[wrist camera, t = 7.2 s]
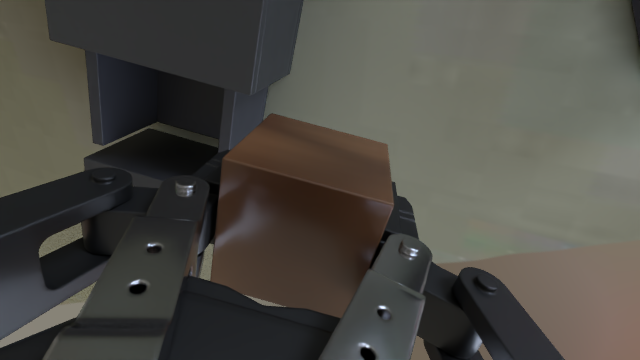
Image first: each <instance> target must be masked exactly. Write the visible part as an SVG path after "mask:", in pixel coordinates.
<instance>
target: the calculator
mask: <svg viewBox="0 0 640 360" xmlns="http://www.w3.org/2000/svg"><path fill="white" fill-rule="evenodd" d="M632 5H633V11H634V16H635V22H636V27H637V33H638V38H639V44H640V0H632Z"/></svg>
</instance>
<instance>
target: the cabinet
mask: <svg viewBox="0 0 640 360" xmlns="http://www.w3.org/2000/svg"><path fill="white" fill-rule="evenodd" d="M45 6H46V14H47V21H48V29H49V37H50V40H52V41H55V42H59V43H63V44H66V45H70V46H73V47H77V48H81V49H84V50H88V51H91V52H95V53H99V54H102V55H106V56H109V57H113V58H117V59H120V60H124V61H127V62H131V63H135V64H138V65H142V66H145V67H149V68H152V69H156V70H160V71H163V72H167V73H170V74H174V75H178V76H181V77H185V78H188V79H192V80H196V81H199V82H203V83H206V84H210V85H214V86H217V87H221V88H224V89H228V90H232V91H235V92H239V93H242V94H246V95H253V94H254V93H256V92H258V91H260V90H262V89H263V88H265V87H267V86H269V85H271V84H272V83H274V82H276V81H278V80H279V79H281V78H283V77H285V76H287V75H288V74H290V70H291V64H292V59H293V54H294V48H295V43H296V38H297V32H298V27H299V22H300V16H301V11H302V6H303V0H45Z"/></svg>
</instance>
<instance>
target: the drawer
mask: <svg viewBox="0 0 640 360" xmlns="http://www.w3.org/2000/svg"><path fill="white" fill-rule="evenodd" d="M85 55H86V67H87V78H88V90H89V101H90V113H91V125H92V136H93V143H95V144H99V145H102V146H104V145H106V144H108V143H110V142H113V141H115V140H117V139H119V138H122V137H124V136H126V135H129V134H131V133H133V132H135V131H138V130H140V129H142V128H144V127H147V126H149V125H151V124H153V123H156V122H160V123H164V124H167V125H171V126H174V127H178V128H181V129H185V130H188V131H192V132H195V133H199V134H202V135H206V136H209V137H213V138H216V139H219V147H218V148H217V147H214V146H210V145H207V144H203V143H200V142H196V141H193V140H189V139H186V138H182V137H179V136H175V135H171V134H168V133H164V132H161V131H157V130H154V129H150V128H149V129H146V130H144V131H142V132H140V133H138V134H135V135H133V136H131V137H129V138H127V139H124V140H122V141H120V142H118V143H116V144H113V145H111V146H109V147H107V148H105V149H102V150H100V151H98V152H96V153H94V154H91V155H89V156H87V157H85V158H84V166H85V171H87V170H90V169H95V168H105V167H107V168H118V169H122V170H125V171H127V172H128V173H130V174H131V176H132V181H133V186H136V187H147V188H159V187H160V185H161V183H162V182H163V181H164V180H166V179H168V178H170V177H174V176H181V175H187V176H191V175H193V174H194V173H195V172H196V171H197V170H198V169H200V168H201V167H202V166H203V165H204V164H206V163H207V162H208V161H209V160H211V158H212V157H214V156H215V155H216V154H217V153H219V152H222V151H226V150H232V149H233V148H234V147H235V146H236V145H237V144H238V143H239V142H240V141H241V140H243V139H244V138H245V137H246V136H247V135H248V134H249V133H250V132H251V131H252V130H254V129H255V128H256V127H257V126H258V125H259V124H260V123H261V122H262V121H263V117H264V111H265V104H266V98H267V92H268V86H267V87H265V88H263V89H262V90H260V91H258V92H256V93H254V94H253V95H246V94H242V93H239V92H235V91H232V90H228V89H224V88H221V87H217V86H214V85H210V84H206V83H203V82H199V81H196V80H192V79H188V78H185V77H181V76H178V75H174V74H170V73H167V72H163V71H160V70H156V69H152V68H149V67H145V66H142V65H138V64H135V63H131V62H127V61H124V60H120V59H117V58H113V57H109V56H106V55H102V54H99V53H95V52H91V51H88V50H85Z"/></svg>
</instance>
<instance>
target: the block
mask: <svg viewBox="0 0 640 360" xmlns="http://www.w3.org/2000/svg"><path fill="white" fill-rule="evenodd" d="M393 207H394V199H393V190H392V181H391V172H390V163H389V154H388V145H387V144H384V143H381V142H377V141H373V140H369V139H366V138H362V137H358V136H354V135H351V134H347V133H343V132H339V131H336V130H332V129H328V128H325V127H321V126H317V125H313V124H310V123H306V122H302V121H298V120H295V119H291V118H287V117H283V116H280V115H276V114H270V115H269V116H268V117H267V118H266V119H265V120H263V121H262V122H261V123H260V124H259V125H258V126H257V127H256V128H255V129H254V130H252V131H251V132H250V133H249V134H248V135H247V136H246V137H245V138H244V139H243V140H241V141H240V142H239V143H238V144H237V145H236V146H235V147H234V148H233V149H232V150H230V151H229V152H228V153H227V154H226V155H225V156H224V157H223V158H222V166H221V176H220V187H219V197H218V207H217V218H216V228H215V238H214V249H213V259H212V269H211V280H210V281H211V282H215V283H218V284H222V285H225V286H228V287H230V288H232V289H234V290H235V291H237V292H239V293H241V294H244V295H247V296H251V297H254V298H258V299H261V300H265V301H268V302H272V303H275V304H279V305H282V306H286V307H291V308H306V309H310V310H313V311H317V312H320V313H324V314H327V315H331V316H334V317H338V318H341V317H342V316H343V314H344V312H345V310H346V308H347V306H348V305H349V303H350V301H351V299H352V297H353V296H354V294H355V292H356V290H357V288H358V287H359V285H360V283H361V281H362V279H363V278H364V276H365V274H366V272H367V270H368V269H369V268H370V266H371V263H372V261H373V258H374V256H375V253H376V251H377V248H378V246H379V243H380V240H381V238H382V235H383V233H384V230H385V228H386V225H387V223H388V220H389V217H390V215H391V212H392V210H393Z"/></svg>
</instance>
